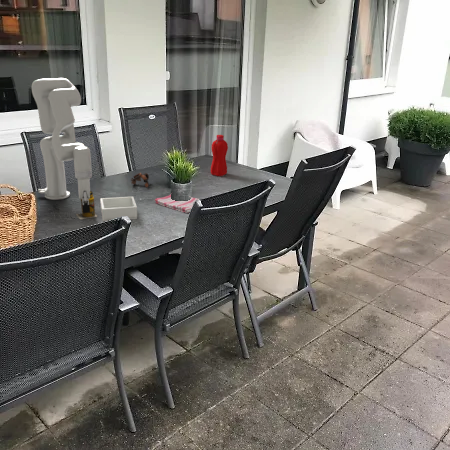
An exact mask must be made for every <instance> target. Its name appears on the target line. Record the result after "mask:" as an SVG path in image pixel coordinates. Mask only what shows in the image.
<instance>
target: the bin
mask: <svg viewBox="0 0 450 450" xmlns="http://www.w3.org/2000/svg"><path fill="white" fill-rule="evenodd" d="M99 200H100V212H101V218H102V222H109V221H108V220H111V219H114V218H117V217H121V216H128V217H129V218H130V219H129V220H137V219H138V206H137V204H136V201H135V198H134V196H120V197H119V196H118V197H116V196H115V197H105V198H104V197H103V198H102V197H101V198H100V199H99Z"/></svg>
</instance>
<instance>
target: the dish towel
mask: <svg viewBox="0 0 450 450" xmlns="http://www.w3.org/2000/svg"><path fill="white" fill-rule="evenodd" d="M171 194H172V193H171ZM171 194H169V195H166V196H163V197H157V198H155V199H154V202H155V204H157V205H160V206H163V207H165V206H166V207H167V208H169V209H172V210H175V211H177V210H178V212H180V211H181V213H184V212H185V213H184V214H189V212H190V210H191V208H192V206H193V203H194V202H195V201H196V200H199V199H200V198H196V197H192V196H190V197H191V199H190V200H188V201H175V200H172V199H171ZM166 207H165V208H166ZM190 213H191V212H190Z"/></svg>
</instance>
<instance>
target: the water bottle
mask: <svg viewBox="0 0 450 450" xmlns="http://www.w3.org/2000/svg"><path fill="white" fill-rule="evenodd" d="M224 136H225V135H223V134H216V140H214V141H213V142H212V144H211V153H212V160H211V161H212V162H211V166H210V174H211V175H212V176H216V177H223V176H225V175H227V173H228V166H227V160H226V158H227V153H228V150H229V147H228V142H227V141H226V140H224Z"/></svg>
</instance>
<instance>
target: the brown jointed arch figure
mask: <svg viewBox="0 0 450 450" xmlns="http://www.w3.org/2000/svg"><path fill="white" fill-rule="evenodd" d="M149 178H150V176H149V174H148V173H147V172H145V173H142V172H139V173H137V174H135V175H134V176H133V177H131V178H130V182H131V185H132V184H133V185H136V184H137V182H141V181H142V180H143V183H144V186H145V188H148V187H149V186H150V184H149ZM141 179H142V180H141Z"/></svg>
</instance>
